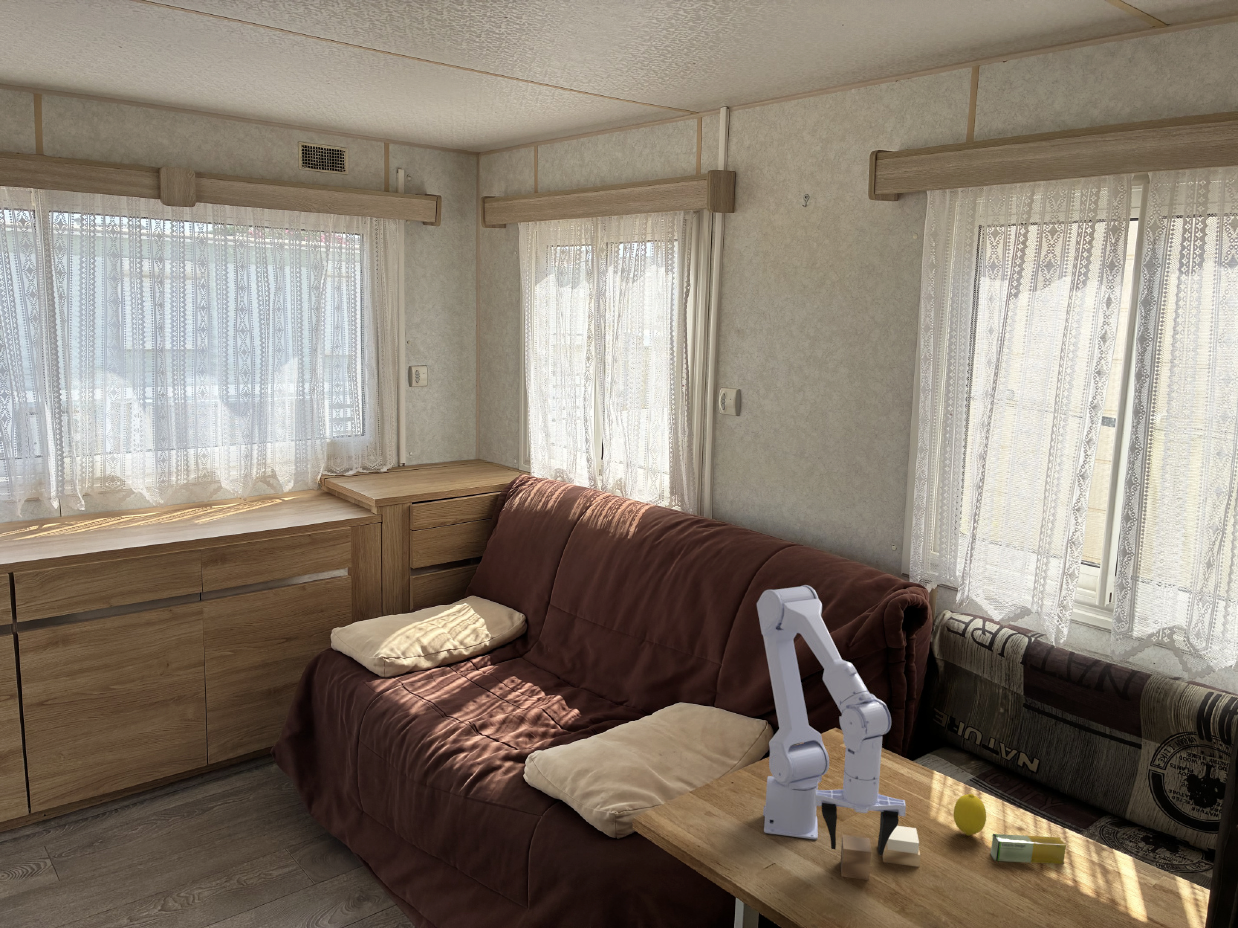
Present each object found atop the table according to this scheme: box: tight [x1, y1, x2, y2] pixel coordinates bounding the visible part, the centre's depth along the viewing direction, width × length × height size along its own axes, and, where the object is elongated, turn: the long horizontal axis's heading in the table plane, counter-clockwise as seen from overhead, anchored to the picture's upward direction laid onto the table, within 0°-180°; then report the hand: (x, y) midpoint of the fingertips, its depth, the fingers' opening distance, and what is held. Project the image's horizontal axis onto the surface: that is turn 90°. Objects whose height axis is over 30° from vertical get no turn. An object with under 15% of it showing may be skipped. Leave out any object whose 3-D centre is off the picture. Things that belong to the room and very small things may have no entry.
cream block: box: [887, 825, 920, 854], centre depth 161 cm, size 5×5×2 cm
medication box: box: [989, 833, 1067, 865], centre depth 161 cm, size 12×3×4 cm, turn 89°
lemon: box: [953, 793, 987, 837], centre depth 168 cm, size 6×6×8 cm
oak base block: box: [881, 843, 921, 868], centre depth 161 cm, size 6×6×2 cm
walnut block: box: [840, 834, 872, 881], centre depth 156 cm, size 4×4×5 cm
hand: (856, 849), depth 156 cm, fingers open, 7 cm apart
